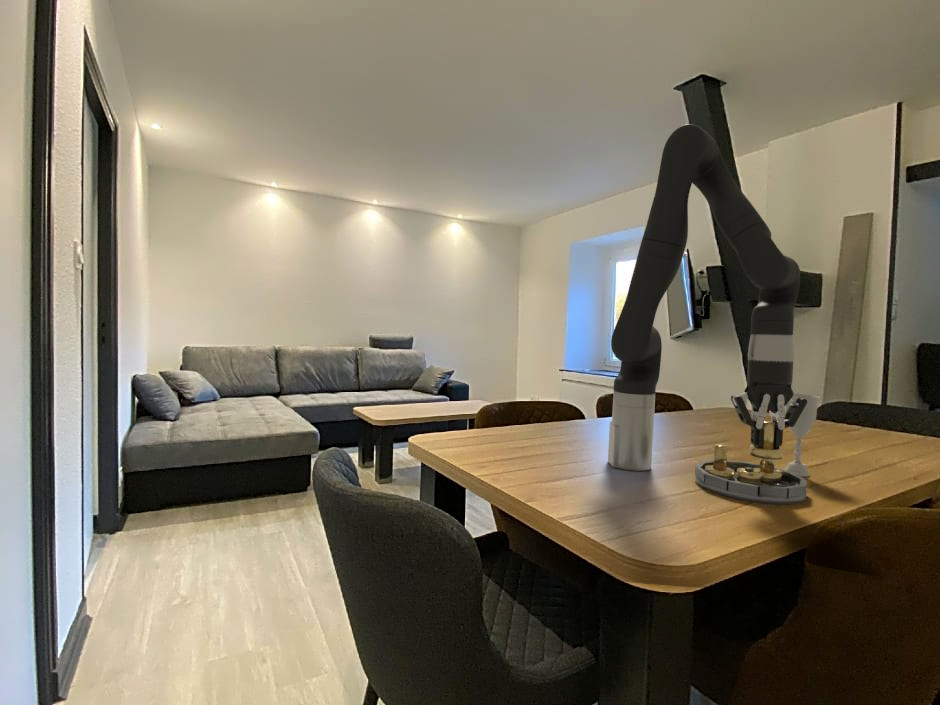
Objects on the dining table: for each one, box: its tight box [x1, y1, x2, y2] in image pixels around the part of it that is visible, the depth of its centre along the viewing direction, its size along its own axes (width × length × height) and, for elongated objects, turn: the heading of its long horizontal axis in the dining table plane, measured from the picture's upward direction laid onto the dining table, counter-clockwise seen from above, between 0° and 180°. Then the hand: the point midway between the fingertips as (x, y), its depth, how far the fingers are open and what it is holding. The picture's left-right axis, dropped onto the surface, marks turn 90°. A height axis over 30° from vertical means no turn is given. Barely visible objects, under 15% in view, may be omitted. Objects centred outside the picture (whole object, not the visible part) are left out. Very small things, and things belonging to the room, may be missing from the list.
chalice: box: [784, 393, 821, 477], centre depth 116 cm, size 7×7×18 cm
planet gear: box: [748, 420, 784, 461], centre depth 98 cm, size 6×6×7 cm
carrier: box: [694, 443, 808, 505], centre depth 104 cm, size 20×20×8 cm
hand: (766, 447), depth 98 cm, fingers closed on planet gear, 2 cm apart
